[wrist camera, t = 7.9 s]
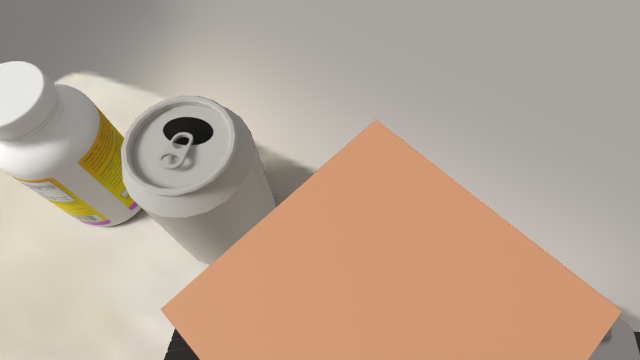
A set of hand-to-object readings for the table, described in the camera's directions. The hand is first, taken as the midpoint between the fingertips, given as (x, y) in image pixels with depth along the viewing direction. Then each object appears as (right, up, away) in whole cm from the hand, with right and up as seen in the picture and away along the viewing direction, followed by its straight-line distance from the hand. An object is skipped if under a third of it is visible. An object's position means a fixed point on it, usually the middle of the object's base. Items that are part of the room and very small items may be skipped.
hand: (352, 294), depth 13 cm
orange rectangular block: (0, -4, +5) cm, 6 cm away
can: (-8, 0, +21) cm, 22 cm away
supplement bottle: (-18, +2, +23) cm, 29 cm away
